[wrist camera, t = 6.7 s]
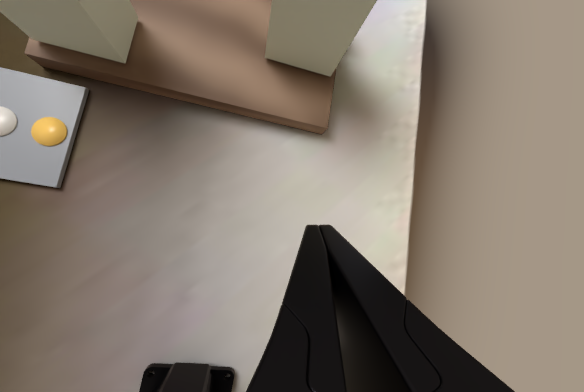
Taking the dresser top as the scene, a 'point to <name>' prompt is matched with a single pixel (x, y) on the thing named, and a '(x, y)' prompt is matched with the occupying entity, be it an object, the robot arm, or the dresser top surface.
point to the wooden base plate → (206, 62)
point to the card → (37, 126)
